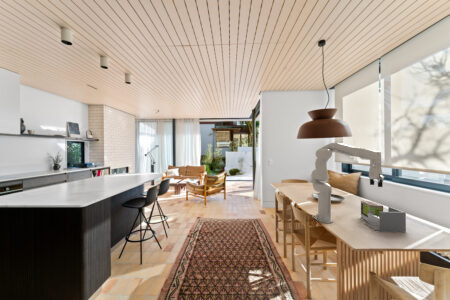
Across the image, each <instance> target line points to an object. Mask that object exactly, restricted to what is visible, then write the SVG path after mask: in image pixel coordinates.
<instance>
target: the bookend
mask: <svg viewBox="0 0 450 300" xmlns="http://www.w3.org/2000/svg"><path fill="white" fill-rule="evenodd" d="M364 225H365V226H366V227H369V228H370V229H372V230H374V231H375V232H376V231H377V232H381V231H380V217H377V216H375V215H373V214H371V213H368V221H367V223H366V222H365V223H364Z"/></svg>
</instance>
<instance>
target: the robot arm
mask: <svg viewBox="0 0 450 300" xmlns="http://www.w3.org/2000/svg"><path fill="white" fill-rule="evenodd" d="M333 153H336V154H340V155H344V156H348V157H354V158H356V157H357V158H359V159H361V160H365V161H366V160H367V161H369V170H368V179H369V185H371V186H374V185H375V180H377V188H378V187H379V188H382V187H383V183H384V180H385V176H384V175H383V169H382V152H381V151H380V150H371V149H368V148H362V147H358V146H352V145H348V144H345V143H340V142H330V143H328V144H326V145H324V146H322V147H320V148H318V149H317V150H316V151H315V156H316V159H315V162H314V166H315V169H313V170H312V172H311V182H312V187H313V189H314V191H315V192H317V193H318V196H317V211H318V212H317V213H316V215H315V214H312V215H311V217H312V218H314V219H316V221H318V222H320V223H325V224H331V223H333V222H334V219H333V218H332V202H331V201H332V199H331V198H332V197H331V196H332V192H333V189H332V186H331V185H330V183H327V182H326V181H327V180H328V179H329V173H328V172H329V171H328V168H327V163H328V161H329V159H331V158H332V156H333Z"/></svg>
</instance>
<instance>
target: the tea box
mask: <svg viewBox="0 0 450 300" xmlns="http://www.w3.org/2000/svg"><path fill="white" fill-rule="evenodd" d="M379 212H384V205H382V204H380V203H377V202H375V201H372V200H371V201H370V200H360V217H361V218H362V219H363V220H365V221H366V222H368V213H371V214H373V215H375V216H377V217H380V216H379Z"/></svg>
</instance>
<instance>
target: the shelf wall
mask: <svg viewBox="0 0 450 300" xmlns="http://www.w3.org/2000/svg"><path fill="white" fill-rule="evenodd" d="M379 216H380V231H379V232H386V233H389V232H390V233H406V232H407V219H406V218H407V214H406V211H402V210H400V209H397V208H394V207H392V206H388V211H383V212H379Z"/></svg>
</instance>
